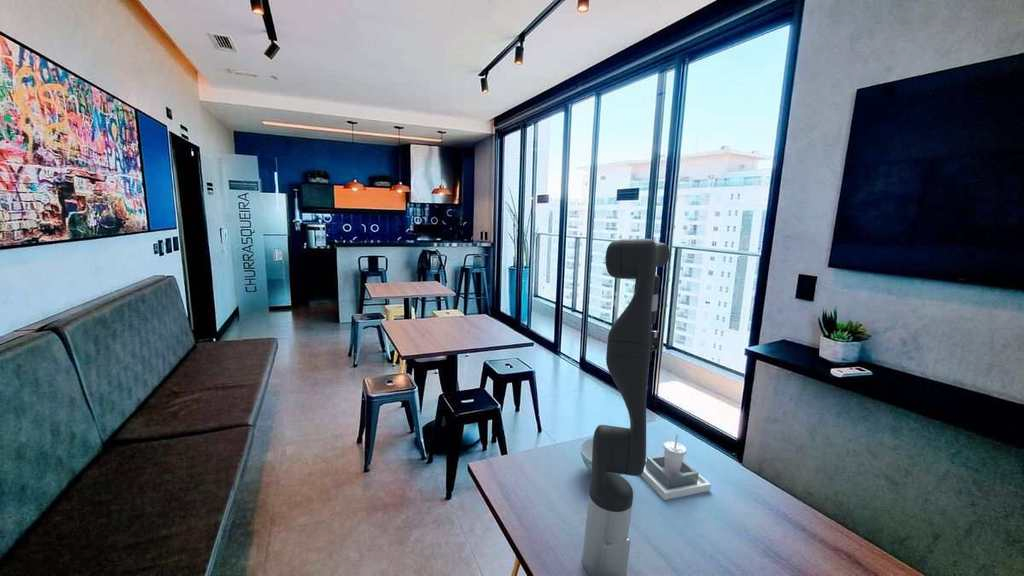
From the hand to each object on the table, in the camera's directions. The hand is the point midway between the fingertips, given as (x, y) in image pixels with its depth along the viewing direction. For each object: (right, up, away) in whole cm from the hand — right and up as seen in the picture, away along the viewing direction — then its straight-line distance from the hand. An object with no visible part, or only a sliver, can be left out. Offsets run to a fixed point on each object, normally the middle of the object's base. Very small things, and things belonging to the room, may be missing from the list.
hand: (638, 357), depth 128 cm
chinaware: (-12, -35, -4) cm, 37 cm away
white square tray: (+8, -36, -5) cm, 37 cm away
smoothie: (+8, -35, -5) cm, 37 cm away
